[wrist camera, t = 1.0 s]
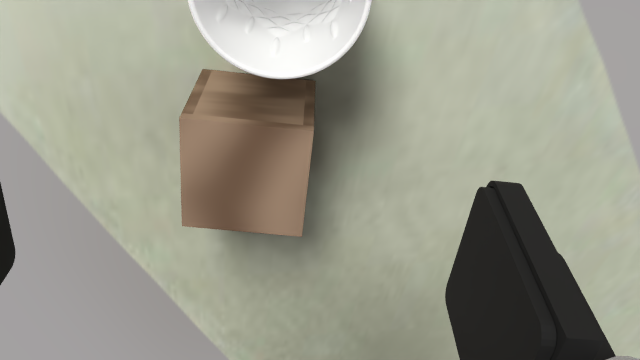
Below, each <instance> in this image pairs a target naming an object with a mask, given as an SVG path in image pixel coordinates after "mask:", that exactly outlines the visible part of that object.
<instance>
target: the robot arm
mask: <svg viewBox="0 0 640 360" xmlns="http://www.w3.org/2000/svg"><path fill="white" fill-rule="evenodd" d="M14 259H15V246H14V242H13V238H12V233H11V228H10V224H9V219H8V215H7V210H6V206H5V201H4V197H3V192H2V188H1V184H0V285H1V283H2V282H3V280H4V279H5V277H6V276H7V274H8V272H9V271H10V269H11V268H12V266H13V263H14ZM445 298H446V306H447V310H448V314H449V318H450V322H451V326H452V330H453V334H454V338H455V342H456V346H457V350H458V354H459V358H460V360H640V359H637V358H633V357H629V356H615V354H614V352H613V350H612V348H611V346H610V344H609V343H608V341H607V339H606V337H605V335H604V333H603V331H602V329H601V328H600V326H599V324H598V322H597V320H596V318H595V316H594V314H593V312H592V311H591V309H590V307H589V305H588V303H587V301H586V299H585V297H584V296H583V294H582V292H581V290H580V288H579V286H578V284H577V282H576V281H575V279H574V277H573V275H572V273H571V271H570V269H569V267H568V265H567V264H566V262H565V260H564V258H563V257H562V256H561V254H559V253H558V252H557V250H556V249H555V247H554V245H553V243H552V241H551V239H550V237H549V235H548V233H547V231H546V230H545V228H544V226H543V224H542V222H541V220H540V218H539V216H538V214H537V212H536V210H535V209H534V207H533V205H532V203H531V201H530V199H529V197H528V195H527V193H526V191H525V190H524V188H523V186H522V185H521V184H519V183H511V182H501V181H490V182H489V183H488V185H487V187H480V188H479V189H478V190H477V193H476V196H475V199H474V202H473V205H472V208H471V211H470V214H469V218H468V221H467V224H466V227H465V230H464V233H463V236H462V239H461V243H460V246H459V249H458V252H457V255H456V258H455V261H454V264H453V268H452V271H451V274H450V277H449V280H448V283H447V287H446V295H445Z"/></svg>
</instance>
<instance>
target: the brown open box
mask: <svg viewBox="0 0 640 360" xmlns="http://www.w3.org/2000/svg"><path fill="white" fill-rule="evenodd" d="M315 84H316V81H313V80H303V79H272V78H265V77H261V76H257V75H254V74H245V73H235V72H225V71H216V70H206V69H203V70H202V72H201V74H200V76H199V78H198V80H197V82H196V84H195V86H194V88H193V91H192V93H191V95H190V97H189V99H188V101H187V103H186V105H185V107H184V109H183V112H182V114H181V116H180V118H179V122H180V164H181V205H182V226H187V227H198V228H210V229H221V230H232V231H243V232H254V233H266V234H277V235H288V236H299V237H302V231H303V222H304V214H305V205H306V196H307V187H308V178H309V170H310V161H311V152H312V143H313V135H314V113H315Z"/></svg>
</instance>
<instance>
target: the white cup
mask: <svg viewBox="0 0 640 360" xmlns="http://www.w3.org/2000/svg"><path fill="white" fill-rule="evenodd" d="M371 2H372V0H188V4H189V8H190V11H191V14H192V17H193V19H194V21H195V23H196V25H197V27H198V29H199V31H200V32H201V34H202V35H203V37H204V38H205V40H206V41H207V42H208V44H209V45H210V46H211V47H212V48H213V49H214V50H215V51H216V52H217V53H218V54H219V55H220V56H221V57H223V58H224V59H225V60H226V61H228V62H229V63H231V64H232V65H234V66H236V67H237V68H239V69H241V70H243V71H246V72H248V73H251V74H254V75H257V76H261V77H265V78H272V79H294V78H300V77H304V76H308V75H311V74H314V73H317V72H319V71H321V70H323V69H325V68H327V67H329V66H330V65H332V64H333V63H335V62H336V61H337V60H339V59H340V58H341V57H342V56H343V55H344V54H345V53H346V52H347V51H348V50H349V49H350V48H351V47H352V46H353V44H354V43H355V42H356V40H357V39H358V37H359V35H360V34H361V32H362V30H363V28H364V26H365V23H366V21H367V18H368V15H369V12H370V7H371Z"/></svg>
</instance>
